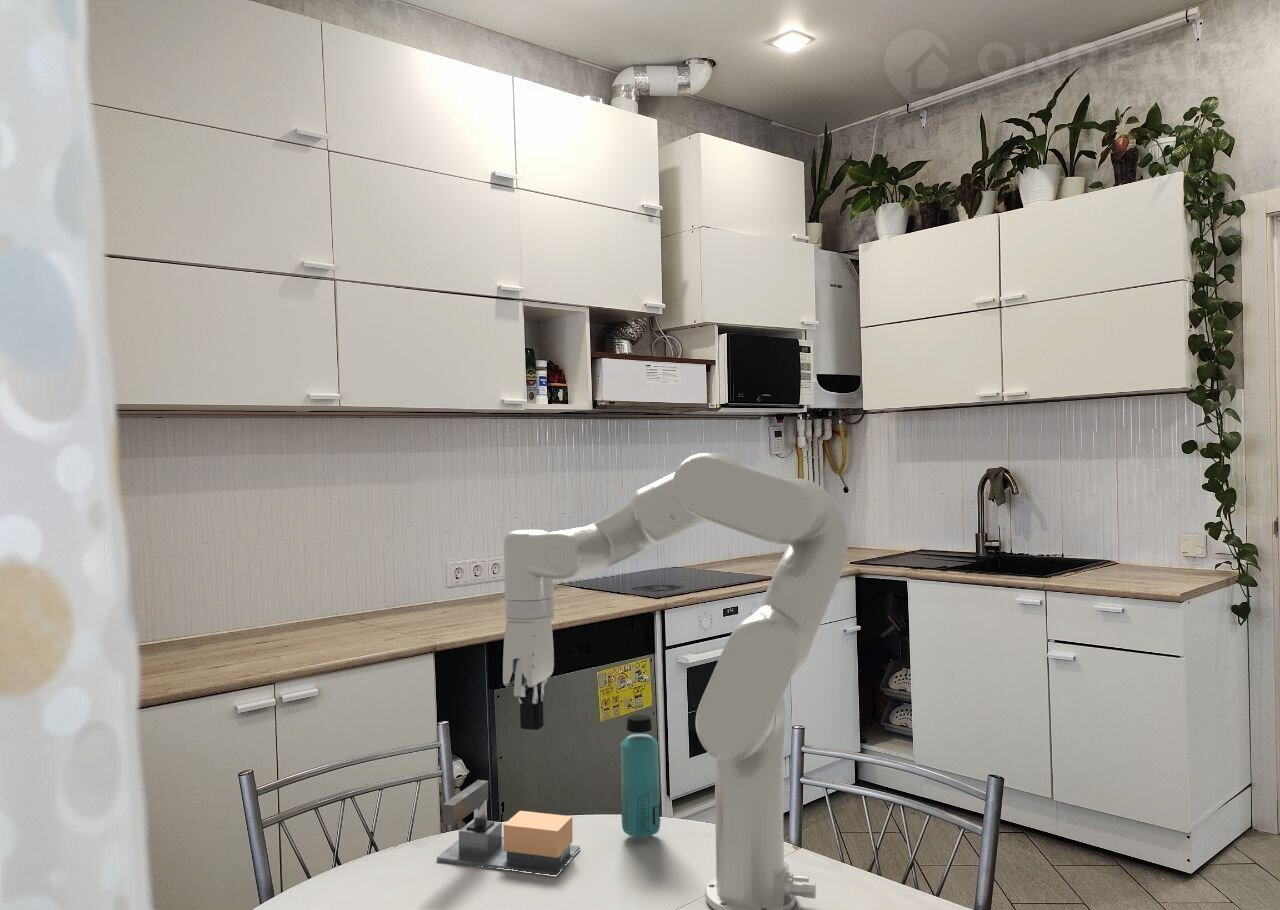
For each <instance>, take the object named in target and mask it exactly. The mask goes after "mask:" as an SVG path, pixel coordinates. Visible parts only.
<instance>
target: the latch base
mask: <svg viewBox="0 0 1280 910" xmlns="http://www.w3.org/2000/svg"><path fill="white" fill-rule="evenodd" d="M502 824H503V823H502V822H501V821H495V820H494V821H493V820H487V824H486V825H483V826H476V825H474V818H473V819H472V820H471V821H469V822H468V823H467V824H466V825H465V826H463V827H462V828H461V829H459V830H458V839H457V840H456V841H455V842H454V843H453V844H451V845H450V846H449V847H448V848H447V849H445V850H444V851H443V852H442V853H441V854H440V855H438V856H436V862H439V863H440V862H441V863H448V864H453V865H454V864H455V865H461V864H463V866H468V865H472V866H471V867H476V866H480V867H479V868H483V867H490V868H489V869H491V867H492V868H502V869H503V868H504V869H511V870H512V869H513V870H518V871H526V872H532V873H540V874H549V875H557V874H558V873H559V872H560V870H561V869H562V868H563V867H564V866H565V864H567V862H568V861H569V860H570V859H571V858H572V857H573V855H574V854H575V853H576V852H577V851H578V850H579V849H580V850H581V845H575V844H574V845H573V844H572V845H571V844H570V845H569V846H568V847H567V849H566V850H565V851H564V852H563V853H562V854H561V855H560V856H559V857H558V858H556V857H548V856H540V855H532V854H524V853H517V852H509V851H504V836H502V835H503V834H502V833H503V830H502V829H503V827H502V826H503V825H502ZM573 858H574V857H573ZM567 865H568V864H567ZM481 866H483V867H481ZM560 873H561V872H560ZM560 873H559V874H560Z"/></svg>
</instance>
